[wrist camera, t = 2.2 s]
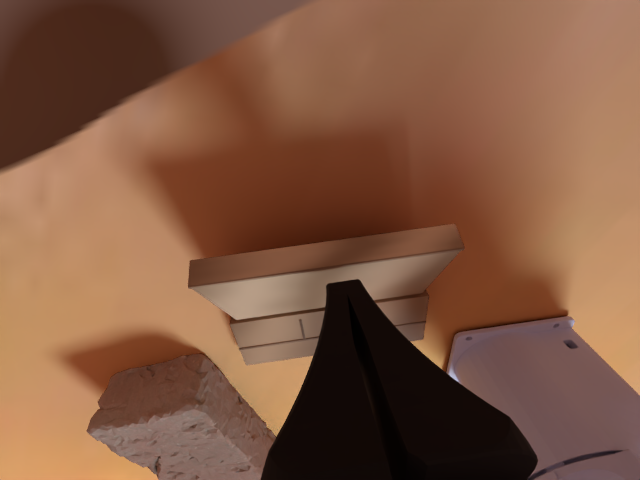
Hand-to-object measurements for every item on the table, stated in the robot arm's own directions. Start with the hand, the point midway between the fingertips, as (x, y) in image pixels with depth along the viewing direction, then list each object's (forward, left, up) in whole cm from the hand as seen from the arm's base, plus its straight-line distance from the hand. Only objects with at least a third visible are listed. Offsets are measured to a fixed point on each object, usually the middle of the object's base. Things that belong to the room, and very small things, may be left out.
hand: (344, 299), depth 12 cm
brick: (+13, +18, -6) cm, 23 cm away
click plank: (0, +2, -4) cm, 4 cm away
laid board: (0, +8, -6) cm, 10 cm away
